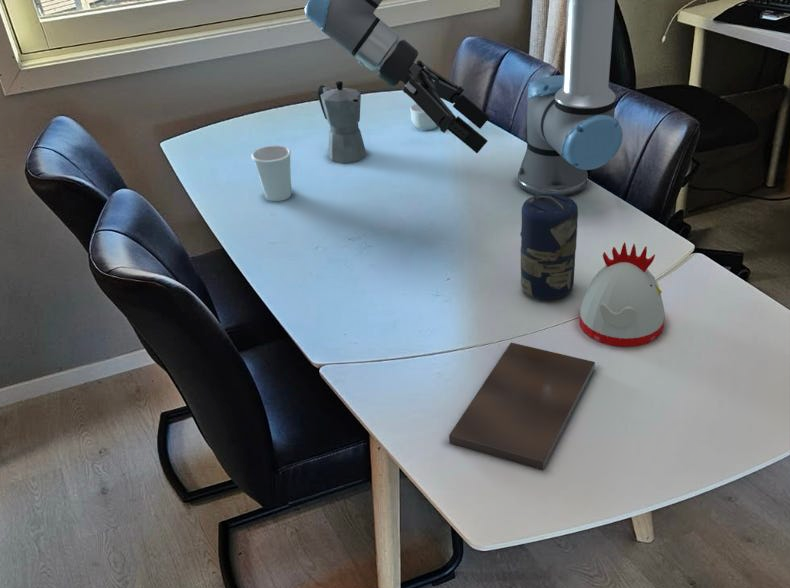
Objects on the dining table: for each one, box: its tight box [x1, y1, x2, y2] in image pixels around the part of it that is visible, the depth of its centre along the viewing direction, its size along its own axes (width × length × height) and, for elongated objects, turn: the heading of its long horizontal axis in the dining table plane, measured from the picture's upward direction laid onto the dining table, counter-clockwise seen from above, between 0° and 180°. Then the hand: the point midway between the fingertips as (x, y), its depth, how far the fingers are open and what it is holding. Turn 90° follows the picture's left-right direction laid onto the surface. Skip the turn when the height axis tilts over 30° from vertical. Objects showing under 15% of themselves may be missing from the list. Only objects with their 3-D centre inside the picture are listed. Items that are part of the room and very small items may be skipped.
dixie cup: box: [251, 144, 292, 202], centre depth 182 cm, size 8×8×10 cm
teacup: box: [409, 102, 438, 131], centre depth 213 cm, size 10×8×5 cm
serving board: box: [448, 342, 596, 471], centre depth 124 cm, size 24×14×2 cm, turn 155°
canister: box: [519, 194, 579, 300], centre depth 145 cm, size 10×10×18 cm
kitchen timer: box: [578, 241, 665, 348], centre depth 136 cm, size 14×14×15 cm
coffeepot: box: [316, 80, 368, 164], centre depth 197 cm, size 15×9×18 cm, turn 44°
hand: (483, 134), depth 148 cm, fingers open, 13 cm apart
